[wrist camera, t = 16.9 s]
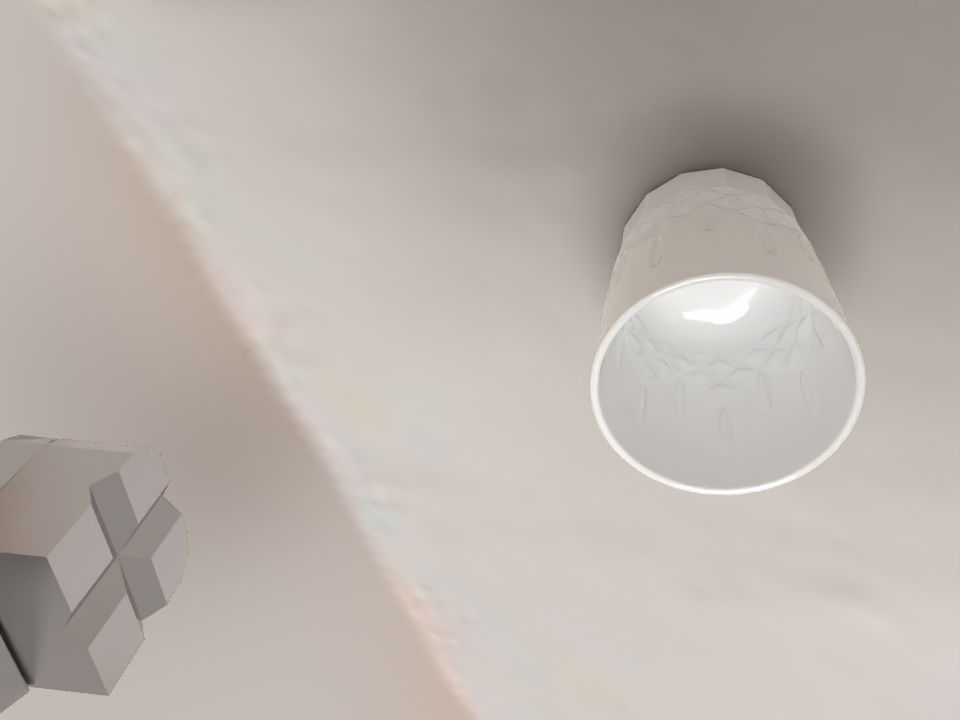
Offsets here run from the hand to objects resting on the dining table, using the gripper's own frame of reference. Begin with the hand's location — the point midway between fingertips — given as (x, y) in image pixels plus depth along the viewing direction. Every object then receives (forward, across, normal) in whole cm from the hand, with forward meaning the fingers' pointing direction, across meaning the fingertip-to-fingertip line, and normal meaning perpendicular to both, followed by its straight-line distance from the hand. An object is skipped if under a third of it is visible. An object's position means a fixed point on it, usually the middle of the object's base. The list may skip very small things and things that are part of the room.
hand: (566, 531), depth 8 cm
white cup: (+27, -2, +10) cm, 29 cm away
